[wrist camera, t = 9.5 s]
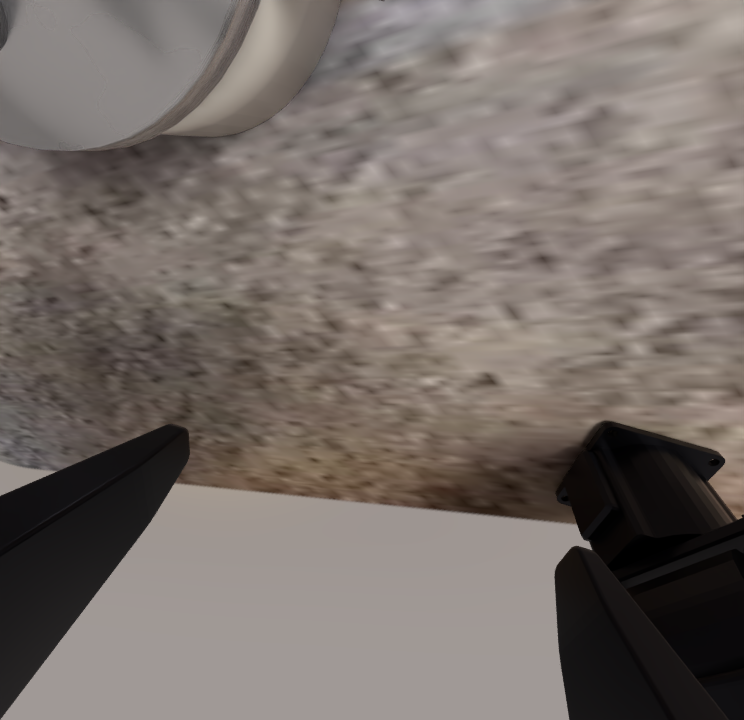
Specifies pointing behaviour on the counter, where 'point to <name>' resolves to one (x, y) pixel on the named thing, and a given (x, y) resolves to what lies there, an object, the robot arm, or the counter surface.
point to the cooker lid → (111, 67)
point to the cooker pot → (265, 68)
